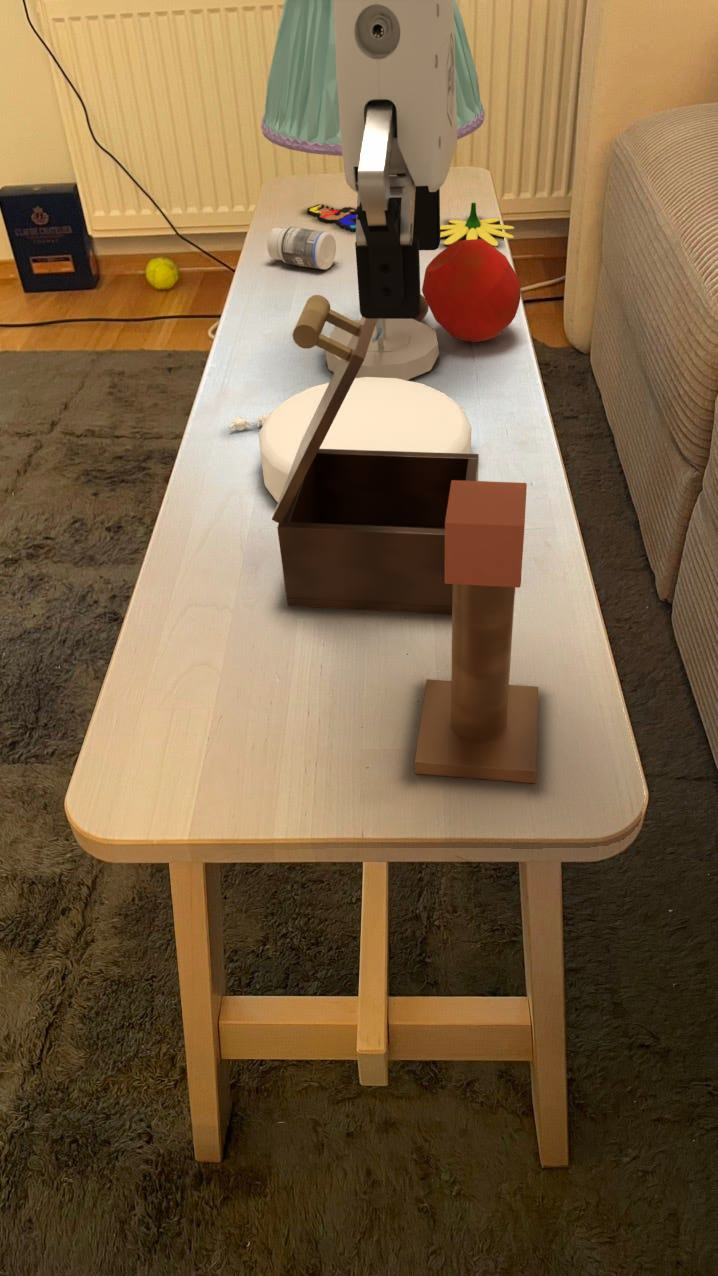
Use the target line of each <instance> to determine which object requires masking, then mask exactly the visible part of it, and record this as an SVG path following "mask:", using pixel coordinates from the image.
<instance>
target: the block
mask: <svg viewBox="0 0 718 1276" xmlns="http://www.w3.org/2000/svg"><path fill="white" fill-rule="evenodd" d="M527 487H528V485H527V483H526V482H515V481H514V482H510V481H485V480H478V481H462V480H452V481H451V486H450V493H449V499H448V506H447V512H446V519H445V584H460V585H479V586H498V587H515V588H519V589H520V588H521V586H522V585H521V583H522V571H523V554H524V542H525V525H526V507H527V506H526V505H527Z"/></svg>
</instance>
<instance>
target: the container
mask: <svg viewBox="0 0 718 1276" xmlns="http://www.w3.org/2000/svg"><path fill="white" fill-rule="evenodd" d="M329 383H330V381H329V382H325V383H322V384H317V385H314V386H311V387H308V388H307V389H305V390H302V391H300V392H298V393H296V394H294V395H292V396H290V397H288V398H287V399H285V400H284V401H283V402H282V403H281V404H279V405H278V406H277V407H276V408H275V409H273V410H272V411H271V412H270V413H269V414H268V417H267V419H266V421H265V423H264V425H263V426H262V427H261V429H260V430H259V433H258V440H259V441H258V442H259V453H260V460H261V468H262V474H263V475H262V476H263V481H264V482H263V483H264V486H265V488H266V490H267V491H268V492H269V493H270V494H271V496H272V497H273V499H274V501H276V502H277V503H278V502H279V499H280V496H281V494H282V491H283V488H284V486H285V483H286V480H287V478H288V475H289V472H290V470H291V467H292V464H293V462H294V459H295V456H296V454H297V451H298V448H299V445H300V443H301V440H302V438H303V436H304V434H305V432H306V430H307V428H308V426H309V424H310V422H311V420H312V418H313V416H314V414H315V412H316V410H317V407H318V405H319V403H320V401H321V399H322V397H323V395H324V393H325V391H326V389H327V387H328V385H329ZM319 449H343V450H373V451H402V452H432V453H462V454H472V426H471V423H470V421H469V418H468V416H467V414H466V411H465V410H464V408H462V407H461V406H460V405H459V404H458V403H457V402H455V401H454V400H453V399H452V398H451V397H450V396H448V395H447V394H446V393H444V392H442V391H439V390H437V389H435V388H433V387H431V386H428V385H426V384H423V383H420V382H415V381H411V380H407V381H406V380H402V379H397V378H379V377H362V378H355V379H354V381H353V383H352V385H351V387H350V389H349V391H348V393H347V395H346V397H345V399H344V401H343V403H342V405H341V407H340V409H339V411H338V413H337V415H336V417H335V419H334V421H333V423H332V425H331V427H330V429H329V431H328V433H327V435H326V437H325V439H324V441H323V443H322V444H321V446H320V448H319Z"/></svg>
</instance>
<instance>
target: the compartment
mask: <svg viewBox="0 0 718 1276" xmlns="http://www.w3.org/2000/svg"><path fill="white" fill-rule="evenodd" d="M479 455H480V454H479V453H471V454H462V453H432V452H402V451H373V450H343V449H319V450H318V452H317V454H316V456H315V458H314V460H313V462H312V464H311V466H310V468H309V470H308V472H307V474H306V476H305V478H304V480H303V482H302V484H301V486H300V488H299V490H298V492H297V494H296V496H295V498H294V500H293V502H292V504H291V506H290V508H289V510H288V512H287V514H286V516H285V518H284V520H283V522H282V524H280V523H278V524H277V527H276V528H277V529H276V530H277V535H278V543H279V550H280V551H279V552H280V558H281V559H280V560H281V566H282V567H281V568H282V573H283V582H284V590H285V596H286V604H287V606H289V607H290V606H291V607H309V608H325V609H344V610H359V611H360V610H361V611H363V610H364V611H379V612H394V613H395V612H397V613H412V614H413V613H414V614H415V613H416V614H431V615H448V616H452V584H445V519H446V512H447V506H448V499H449V493H450V486H451V481H452V480H462V481H479V461H480V460H479Z"/></svg>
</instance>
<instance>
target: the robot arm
mask: <svg viewBox="0 0 718 1276" xmlns="http://www.w3.org/2000/svg"><path fill="white" fill-rule="evenodd" d="M333 3H334V11H333V19H334V29H335V52H336V72H337V88H338V104H339V119H340V133H341V144H342V154H343V156H342V161H343V169H344V176H345V181H346V184H347V186H348V187H349V188H350V189H351V190H352V191H354V192H355V193H356V194H357V200H356V202H357V203H356V209H357V210H356V215H357V217H356V231H355V242H354V247H355V260H356V273H357V286H358V287H357V289H358V304H359V313H360V316H361V317H362V316H363V317H364V318H368V319H414V318H417V317H418V316H419V313H420V310H421V296H420V294H421V266H420V265H421V264H420V263H421V262H420V251H435V250H437V249H438V248H439V247H440V244H441V238H440V233H441V230H440V226H441V201H440V200H441V193H440V191H441V187H442V186H443V185H444V184H445V182H446V180H447V177H448V174H449V172H450V168H451V165H452V162H453V160H454V156H455V152H456V148H457V143H458V140H457V109H456V79H455V38H454V5H453V0H333Z"/></svg>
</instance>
